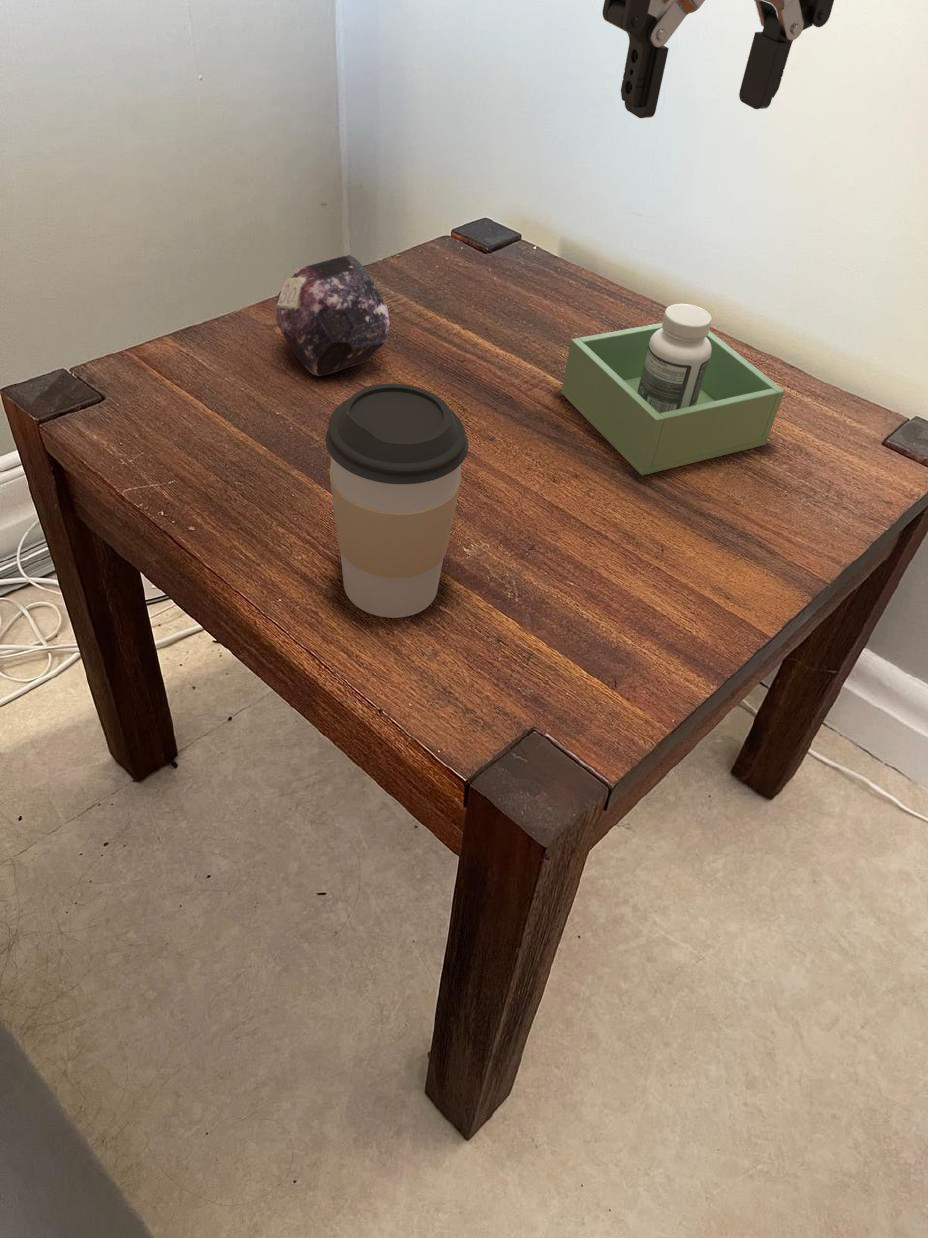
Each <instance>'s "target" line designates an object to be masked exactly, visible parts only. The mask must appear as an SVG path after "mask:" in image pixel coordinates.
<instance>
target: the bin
mask: <svg viewBox="0 0 928 1238" xmlns="http://www.w3.org/2000/svg"><path fill="white" fill-rule="evenodd" d="M661 328H662V322H659V323H653V324H649V325H642V326H636V327H631V328H626V329H620V330H615V331H610V332H609V331H608V332H604V333H599V334H593V335H587V336H581V337H576V338H571V339H570V343H569V349H568V355H567V359H566V365H565V371H564V376H563V381H562V388H561V392H560V393H561V394H562V396H563V397H564V398H565V399H566V400H568V402H569V403H570V404H571V405H572V406H573V407H574V408H575V409H576V410H577V411H578V412H579V413H580V414H581V415H582V416H583V417H584V418H585V419H586V420H587V421H588V423H589V424H591V425H592V426H593V427H594V428H595V429H596V430H597V432H599V434H601V436H602V437H604V439H605V440H606V441H607V442H608V443H609V444H610V445H611V446H612V447H613V448H614V449H615V450H616V451H617V452H618V453H619V454H620V455H621V456H622V457H623V458H624V459H625V460H626V461H627V462H628V463H629V464H630V465H631V466H632V468H634V469H635V470H636V471H637V473H638V474H639V475H640V476H646V475H650V474H654V473H657V472H658V473H659V472H661V471H665V470H666V471H667V470H671V469H675V468H677V467H678V468H679V467H682V466H687V465H691V464H694V463H698V462H702V461H706V460H710V459H715V458H718V457H723V456H726V455H730V454H734V453H738V452H742V451H747V450H751V449H754V448H758V447H762V446H763V447H764V446H766V445H767V442H768V439H769V436H770V433H771V431H772V428H773V425H774V422H775V420H776V417H777V414H778V412H779V409H780V406H781V404H782V401H783V398H784V395H785V392H786V391H785V390H784V389H783V388H782V387H780V385H778V384H777V383H776V382H775V381H773V380H772V379H771V378H769V377H768V376H767V375H766V374H764V373H763V372H762V371H761V370H759V369H758V368H757V367H755V366H754V365H753V364H752V363H751V362H749V361H748V360H747V359H746V358H744V357H743V356H742V355H741V354H739V353H738V352H737V351H735V350H734V349H733V348H732V347H731V346H729V345H728V344H726V342H724V341H723V340H722V339H720V338H719V337H718V336H717V335H715V334H714V333H713V332H711V330H709V333H708V335H707V339H708V340H709V342H710V344H711V355H710V358H709V362H708V365H707V368H706V372H705V375H704V379H703V382H702V386H701V389H700V393H699V396H698V400H697V404H696V405H695V406H691V407H686V408H682V409H677V410H673V411H668V412H664V413H660V414H659V413H658V412H657V411H656V410H655V409H654V408H653V407H651V406H650V405H649V404H648V403H647V402H646V401H645V400H644V399H643V398H642V397H641V396H640V395H639V394H638V388H639V384H640V380H641V376H642V371H643V367H644V363H645V359H646V354H647V350H648V345H649V342H650V339H651V337H652V335H653V334H654V333H655V332H656V331H657V330H659V329H661Z"/></svg>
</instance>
